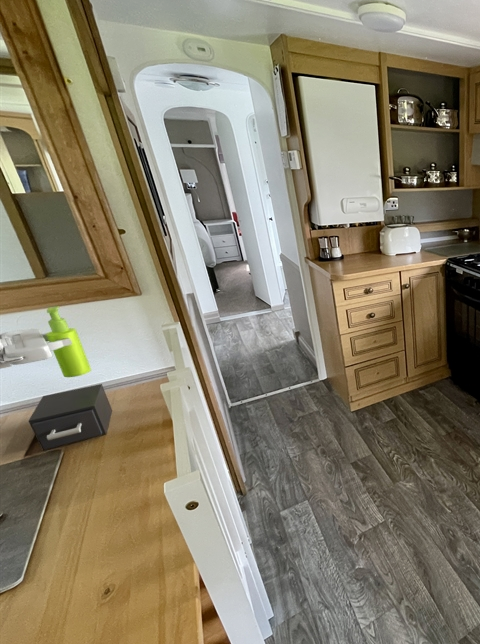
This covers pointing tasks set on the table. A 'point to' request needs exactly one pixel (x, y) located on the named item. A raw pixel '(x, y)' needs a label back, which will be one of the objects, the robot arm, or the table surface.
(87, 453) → the table surface
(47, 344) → the robot arm
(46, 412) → the cabinet
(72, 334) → the soap dispenser
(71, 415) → the drawer
